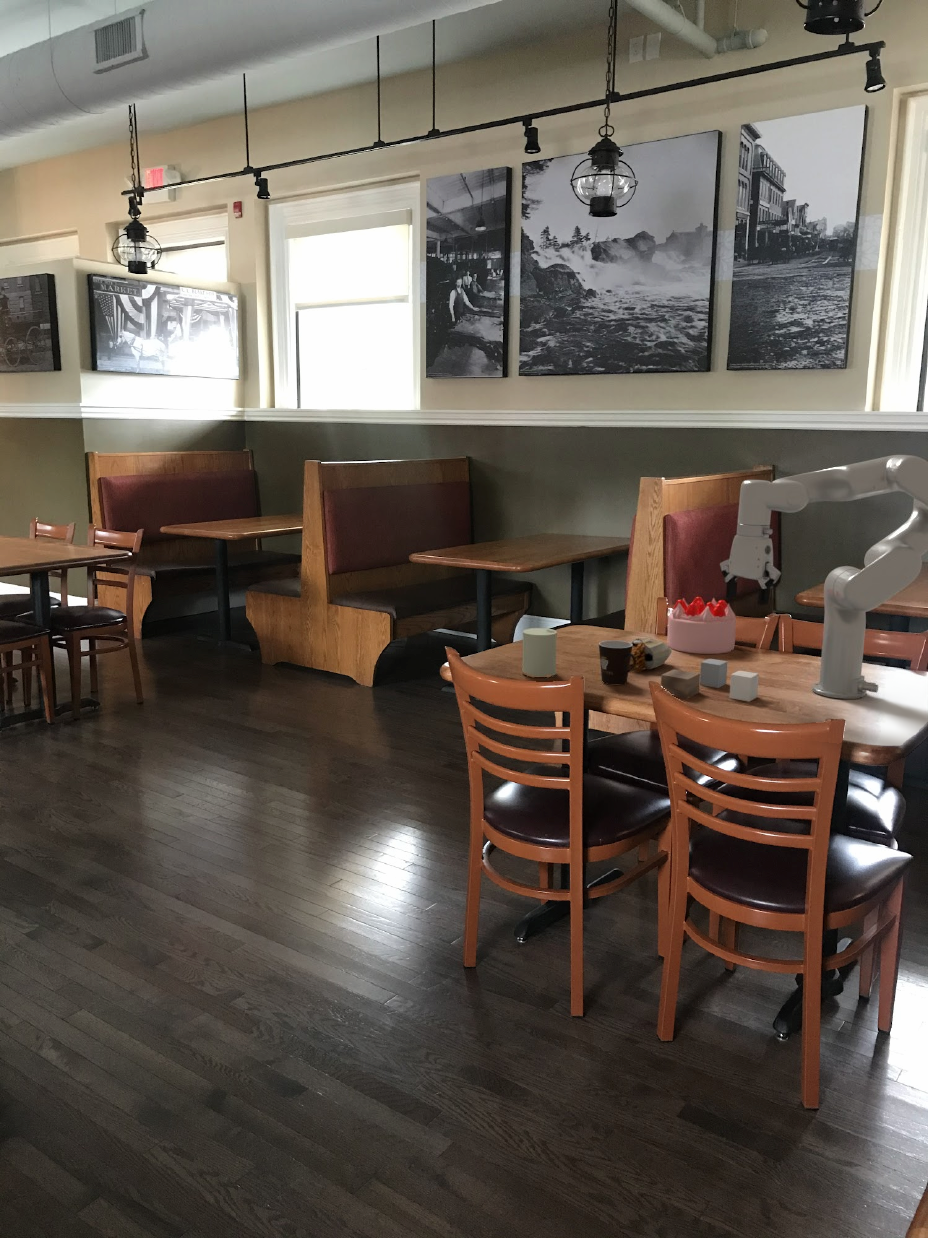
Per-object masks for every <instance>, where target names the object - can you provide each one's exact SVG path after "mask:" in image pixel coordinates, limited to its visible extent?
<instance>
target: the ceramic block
mask: <svg viewBox="0 0 928 1238" xmlns="http://www.w3.org/2000/svg"><path fill="white" fill-rule="evenodd" d="M759 674H760V673H758V672H750V671H746V670H745V671H744V670H737V671H735V672H733V673H731V674H730V682H729V684H730V685H729V699H733V700H738V701H745V702H751V701H753V700H755V699H757V698H758V693H759V678H760V677H759Z"/></svg>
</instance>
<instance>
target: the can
mask: <svg viewBox="0 0 928 1238" xmlns="http://www.w3.org/2000/svg"><path fill="white" fill-rule="evenodd" d="M557 631H558V630H555V629H551V628H548V627H547V628H546V627H531V628H526V629H523V631H522V670H521V672H522V671H523V672H524V673H527V674H529V675H534V676H547V675H555V674H556V675H557V666H556V665H557V641H558V640H557V635H558V632H557ZM556 675H555V676H556Z"/></svg>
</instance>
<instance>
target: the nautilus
mask: <svg viewBox="0 0 928 1238" xmlns="http://www.w3.org/2000/svg"><path fill="white" fill-rule="evenodd" d="M628 642H629V643H631V644H633V646H632V652H631V654H633V655H634V657H635V659H636V665H635V667H634V668H633V669H632V670H633V671H632V670H631V674H633V673H637V672H638V673H640V672H641V671H644V670H651V669H655V668H658V667H659V666H662V665H663V664H664V663H665V662H666V661H667V660H668V658H669V657H670V655H671V654H672V652H673V651H672V648H670V647H669V646H668V644H667V643H666V642H663V641H661V640H658V639H655V638H652V637H638V638H635V639H633V640H630V641H628ZM630 665H631V666H632V665H633V658H632V657H631V659H630ZM630 665H629V666H630ZM629 673H630V672H628V674H629Z"/></svg>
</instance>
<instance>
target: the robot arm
mask: <svg viewBox="0 0 928 1238" xmlns="http://www.w3.org/2000/svg"><path fill="white" fill-rule="evenodd" d="M893 492H902V493H903V492H904V493H906V494H907V495H909V496H910V497H912V498H913V508H912V510H911V515H910V517H909V518H908V519H907V520H906V521H905V522H904V523H903V524H902V525H900V526H899V527H898V528H897V529H895V530H894V531H892V532H891V533H890V534H888V535H887V536H886V537H884V538H883V539H881V540H880V541H878V542H876V543H875V544H874V545H872V546H871V547H870V548H869V549H868V550H867V551H866V553H865V556H864V559H863V560H864V561H863V563H864V566H865V567H864V568H863V569H860V568H857V567H855V566H849V565H845V566H839V567H836V568H834V569H833V570H831V571H830V572H829V573H828V575H827V577H826V579H825V581H824V586H823V600H824V604H823V605H824V620H823V634H822V643H821V644H822V647H821V658H820V660H821V661H820V670H819V681H818V682H815V683H814V684H813V685H812V689H811V690H812V691H813V693H816V694H817V695H820V696H824V697H828V698H835V699H845V700H853V699H854V700H856V699H861V698H860V697H862V698H865V697H866V696H867V692H871V693H878V691H879V684H876V682H870V681H866V680H865V675H862V670H863V669H862V668H863V661H864V660H863V658H864V647H865V637H866V636H865V635H866V624H867V622H866V621H867V619H866V618H867V616H866V612H870V611H872V610H874V609H876V608H878V607H879V606H881V605H883V603H885V602H886V601H888V600H889V599H891V598H893V597H894V596H895V595H897V594H899V593H900V592H901V591H903V590H904V589H906V588H907V587H908V586H909V585H910V584H912V583H913V582H914V581H915V580H916V578H917V577H918V576H919V575H920V573H921V570H922V565H923V561H922V556H923V555H924V554H926V553H927V552H928V461H927V460H926V459H923V458H922V457H919V456H916V455H910V454H909V455H908V454H893V455H888V456H887V455H886V456H883V457H880V458H879V457H878V458H874V459H868V460H865V461H861V462H855V463H851V464H846V465H841V466H835V467H830V468H827V469H822V470H816V471H810V472H805V473H800V474H794V475H791V476H785V477H780V478H778V479H775V480H773V481H772V482H771V481H769V480H763V479H746V480H743V481H742V483H741V485H740V491H739V503H738V512H737V513H738V514H737V526H736V535H734V538H733V540H732V545H731V548H730V554H729V558H728V559H726V560H724V561H722V562H720V563H719V566H720V569H721V575H722V577H724V581H725V583H726V587H725V588H726V590H725V599H734V598H737V591H738V590H737V589H738V581H737V579H739V578H744V579H749V580H754V581H755V580H756V581H758V584H759V586H760V587H761V588H759V589H758V597H757V598H758V599H757V605H758V606H764V605H765V606H766V605H768V604H769V601H770V595H771V594H770V593H771V592H770V591H771V589H772V588H774V587H773V586H774V585H775V584H777V582H778V580H779V578H780V576H781V574H782V572H781V571H780V570H778V569H777V568H776V567H775V566H774V549H773V541H772V538H769V537H770V535H772V534H773V529H772V528H771V527H770V525H771V517H772V516H771V515H772V511H777V512H783V513H789V514H790V513H796V512H800V511H801V510H803V509H804V508H805V507H807V504H811V503H817V502H850V501H855V500H860V499H864V498H867V497H872V496H873V497H874V496H878V495H885V494H888V493H893Z"/></svg>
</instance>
